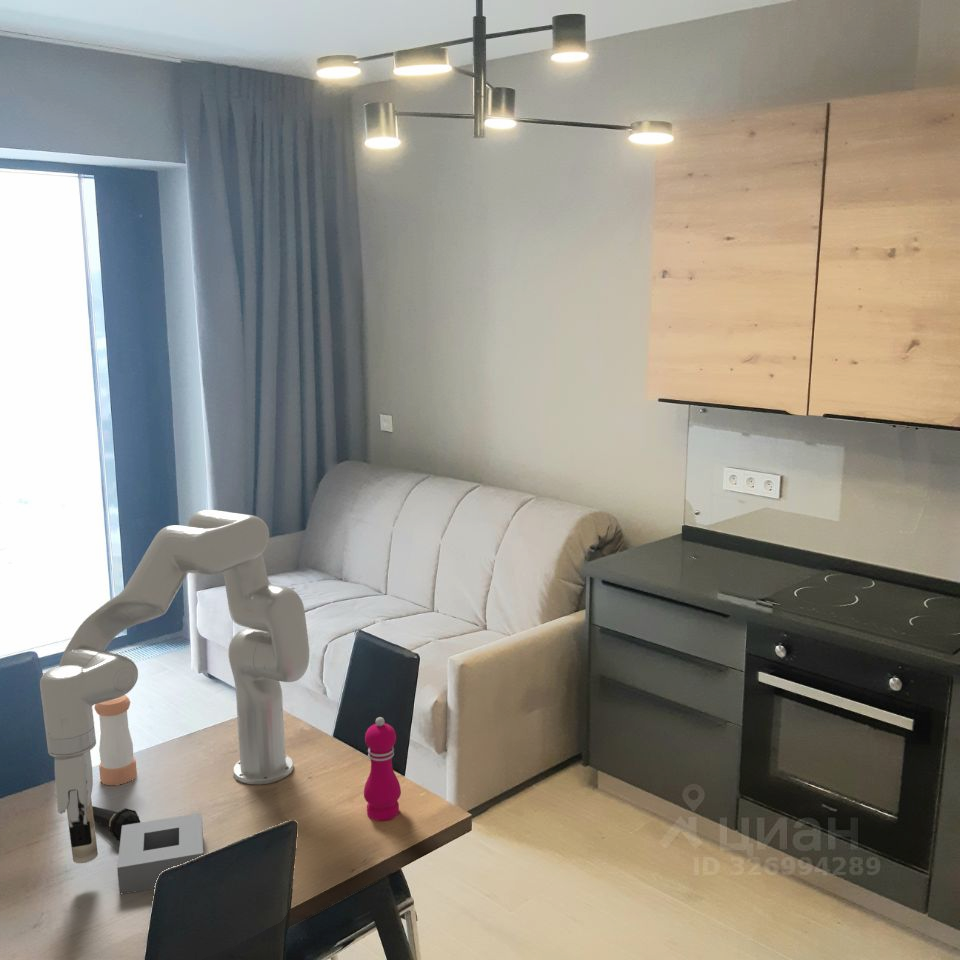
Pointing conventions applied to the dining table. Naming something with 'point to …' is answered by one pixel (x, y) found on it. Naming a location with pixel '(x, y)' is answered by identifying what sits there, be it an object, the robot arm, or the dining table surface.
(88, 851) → the peg
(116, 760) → the salt shaker
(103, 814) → the microphone
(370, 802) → the pepper mill
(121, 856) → the socket block
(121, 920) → the dining table surface
